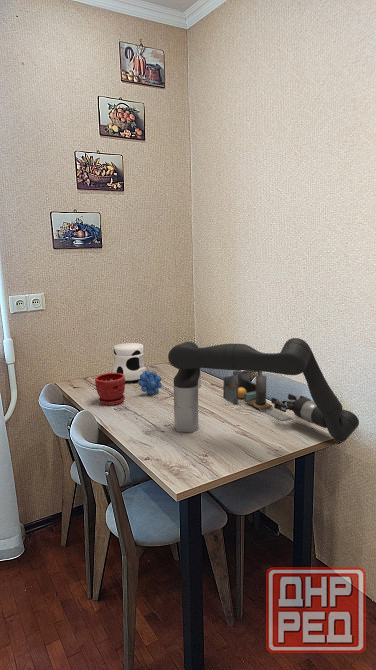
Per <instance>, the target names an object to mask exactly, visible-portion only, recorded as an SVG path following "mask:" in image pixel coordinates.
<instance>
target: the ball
mask: <svg viewBox="0 0 376 670" xmlns="http://www.w3.org/2000/svg"><path fill="white" fill-rule="evenodd" d="M244 393H247V392H246V390H245V389H244V388H243V387H240V388H238V399H244Z"/></svg>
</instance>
